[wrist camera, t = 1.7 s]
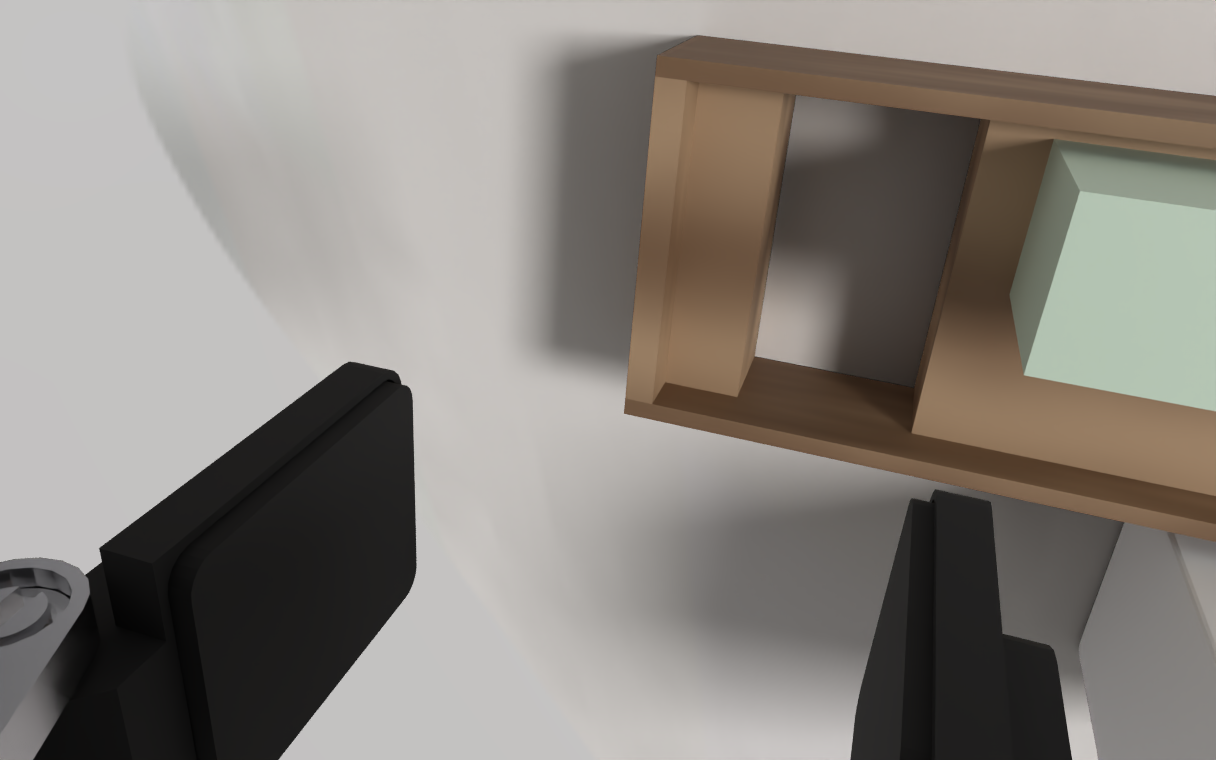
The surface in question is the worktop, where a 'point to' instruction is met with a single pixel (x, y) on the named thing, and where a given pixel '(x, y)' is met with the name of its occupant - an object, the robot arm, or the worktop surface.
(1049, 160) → the block
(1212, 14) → the worktop surface
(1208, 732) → the milk carton
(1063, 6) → the worktop surface
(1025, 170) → the box
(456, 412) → the worktop surface
